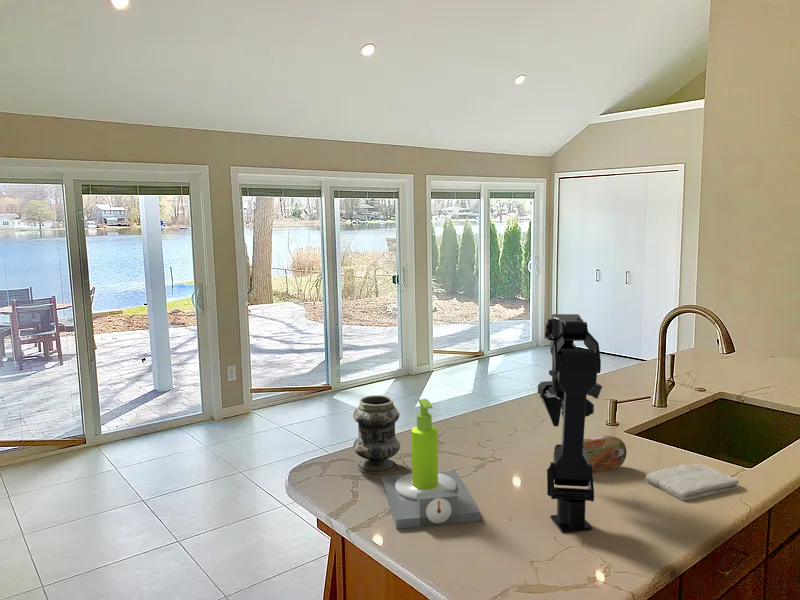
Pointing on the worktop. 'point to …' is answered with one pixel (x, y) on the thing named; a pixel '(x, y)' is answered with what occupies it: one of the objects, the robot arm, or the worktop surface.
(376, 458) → the apothecary jar
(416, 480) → the soap dispenser
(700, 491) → the washcloth
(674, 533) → the worktop surface
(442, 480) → the kitchen scale
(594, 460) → the tin
